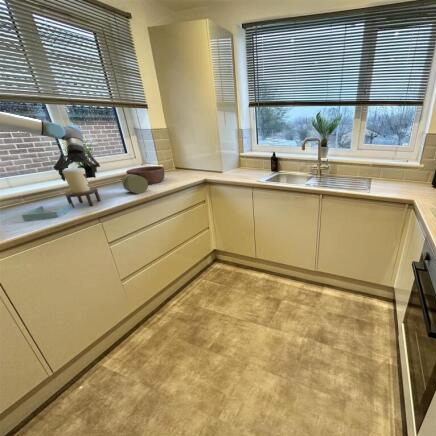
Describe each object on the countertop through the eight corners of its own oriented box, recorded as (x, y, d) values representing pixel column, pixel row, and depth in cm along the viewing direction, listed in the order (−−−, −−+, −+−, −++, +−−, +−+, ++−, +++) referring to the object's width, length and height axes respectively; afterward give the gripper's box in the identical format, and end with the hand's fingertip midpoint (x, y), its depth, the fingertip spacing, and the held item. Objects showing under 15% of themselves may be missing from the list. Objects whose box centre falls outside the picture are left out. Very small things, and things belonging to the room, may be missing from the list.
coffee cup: (94, 189, 134) (87, 168, 129) (73, 194, 127) (65, 171, 122) (87, 187, 139) (80, 167, 134) (67, 191, 131) (58, 170, 127)
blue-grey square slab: (24, 220, 114) (21, 215, 113) (43, 211, 126) (40, 206, 125) (58, 217, 117) (55, 211, 116) (73, 208, 129) (71, 203, 128)
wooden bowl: (169, 182, 181) (166, 169, 177) (130, 188, 168) (126, 173, 164) (164, 177, 200) (161, 165, 196) (129, 181, 187) (125, 168, 184)
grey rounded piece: (141, 188, 166) (137, 172, 162) (149, 191, 159) (145, 174, 155) (123, 192, 157) (118, 175, 153) (131, 195, 151) (126, 177, 147)
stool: (64, 209, 128) (58, 195, 125) (78, 202, 140) (73, 188, 137) (94, 206, 131) (89, 192, 128) (105, 199, 144) (101, 186, 141)
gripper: (103, 150, 150) (108, 178, 143) (50, 154, 138) (53, 184, 132) (99, 142, 143) (104, 171, 137) (43, 145, 132) (46, 177, 126)
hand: (79, 178), depth 134 cm, fingers open, 13 cm apart
